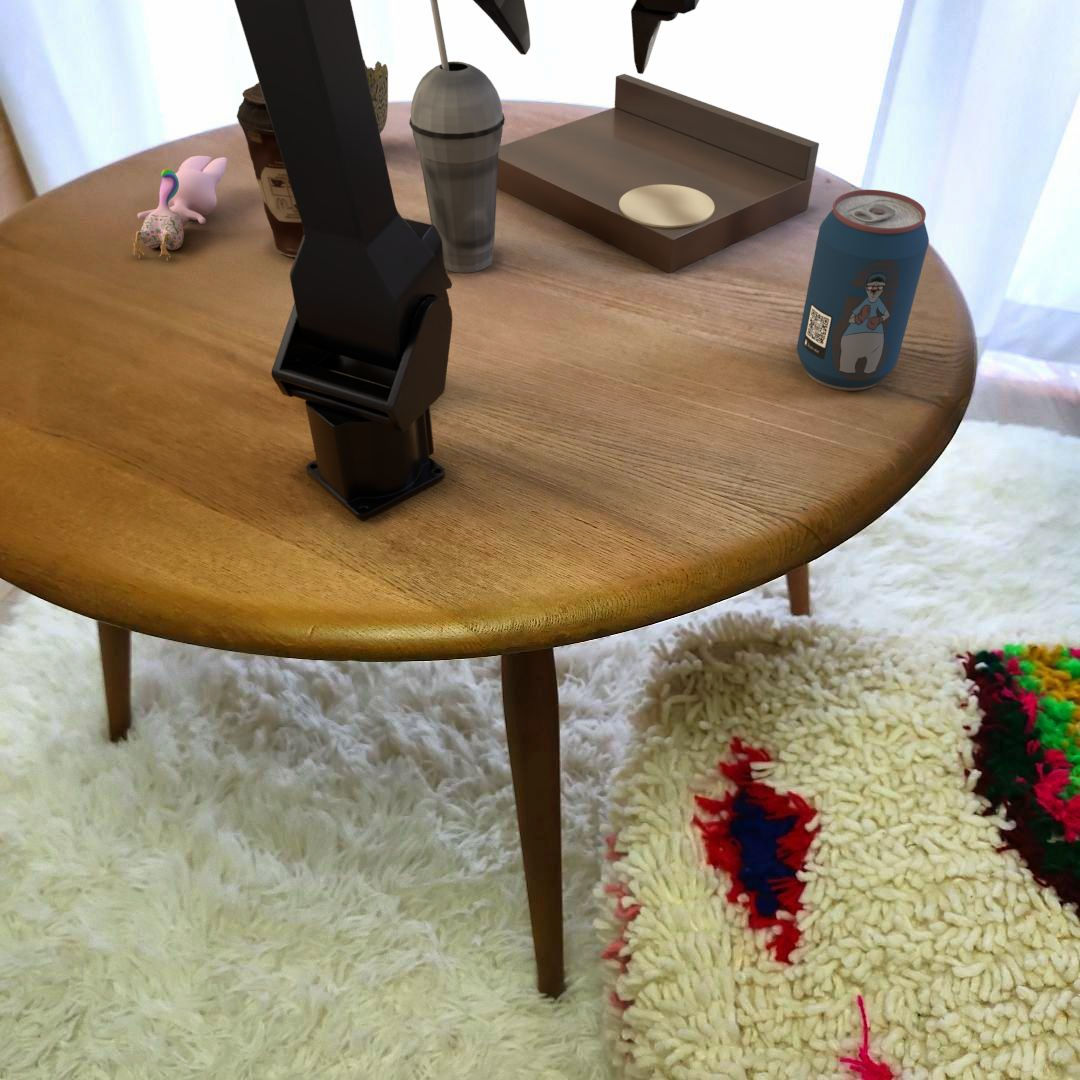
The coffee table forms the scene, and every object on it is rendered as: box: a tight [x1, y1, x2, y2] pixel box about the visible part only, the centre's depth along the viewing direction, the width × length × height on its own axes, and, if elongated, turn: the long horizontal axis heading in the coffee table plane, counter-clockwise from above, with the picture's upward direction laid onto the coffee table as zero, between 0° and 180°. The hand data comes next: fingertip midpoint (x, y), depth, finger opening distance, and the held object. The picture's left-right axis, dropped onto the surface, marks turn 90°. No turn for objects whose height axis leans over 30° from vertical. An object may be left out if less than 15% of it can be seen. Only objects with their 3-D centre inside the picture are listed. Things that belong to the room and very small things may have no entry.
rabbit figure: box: [131, 155, 228, 262], centre depth 89 cm, size 6×6×15 cm
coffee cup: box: [236, 82, 304, 258], centre depth 84 cm, size 9×8×13 cm
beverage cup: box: [408, 0, 506, 274], centre depth 79 cm, size 7×7×20 cm
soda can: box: [796, 189, 930, 392], centre depth 69 cm, size 7×7×12 cm
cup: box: [363, 58, 389, 134], centre depth 100 cm, size 8×7×8 cm
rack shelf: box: [497, 73, 820, 274], centre depth 93 cm, size 18×24×6 cm
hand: (583, 60), depth 75 cm, fingers open, 9 cm apart
